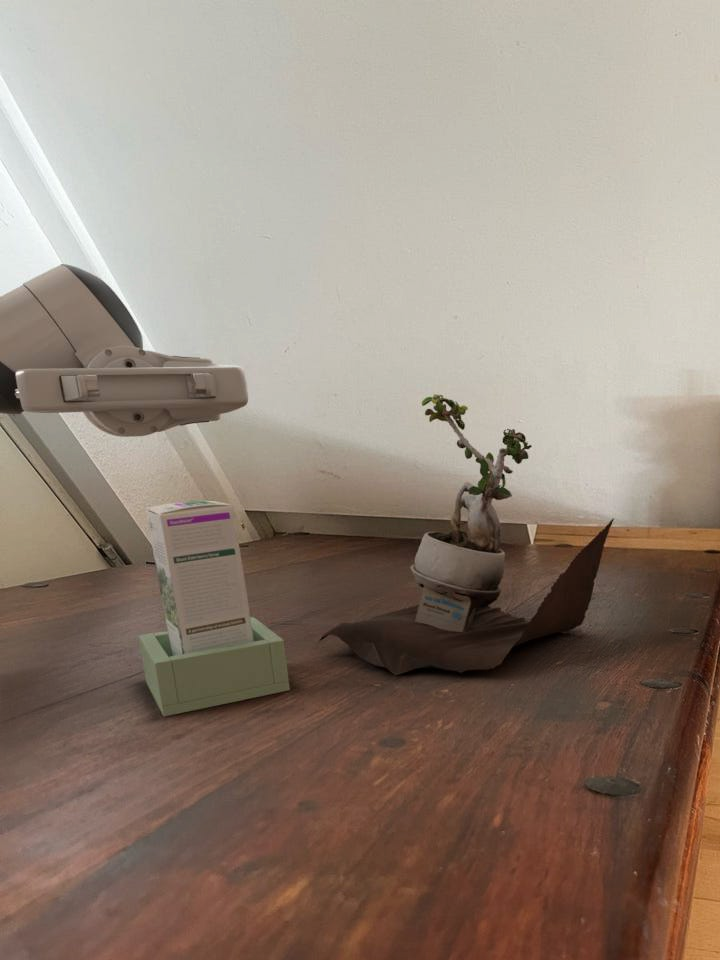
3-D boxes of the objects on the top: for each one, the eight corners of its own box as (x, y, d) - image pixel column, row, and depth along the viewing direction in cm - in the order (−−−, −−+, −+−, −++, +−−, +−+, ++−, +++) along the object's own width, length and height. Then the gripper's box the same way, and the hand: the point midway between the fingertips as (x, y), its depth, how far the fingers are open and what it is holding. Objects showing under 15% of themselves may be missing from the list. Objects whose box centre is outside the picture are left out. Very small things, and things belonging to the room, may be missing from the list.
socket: (163, 716, 59) (154, 663, 57) (146, 683, 67) (138, 635, 66) (290, 690, 63) (284, 640, 62) (259, 661, 71) (253, 616, 70)
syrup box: (261, 677, 64) (238, 501, 60) (188, 694, 61) (158, 509, 57) (240, 662, 69) (217, 497, 65) (171, 676, 66) (142, 504, 62)
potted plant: (430, 631, 88) (488, 410, 81) (572, 696, 79) (650, 454, 72) (303, 647, 71) (363, 371, 65) (464, 732, 62) (553, 421, 56)
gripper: (7, 361, 74) (4, 346, 63) (224, 359, 84) (257, 346, 72) (21, 428, 76) (21, 426, 64) (232, 420, 85) (265, 416, 74)
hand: (147, 384), depth 68 cm, fingers open, 8 cm apart
